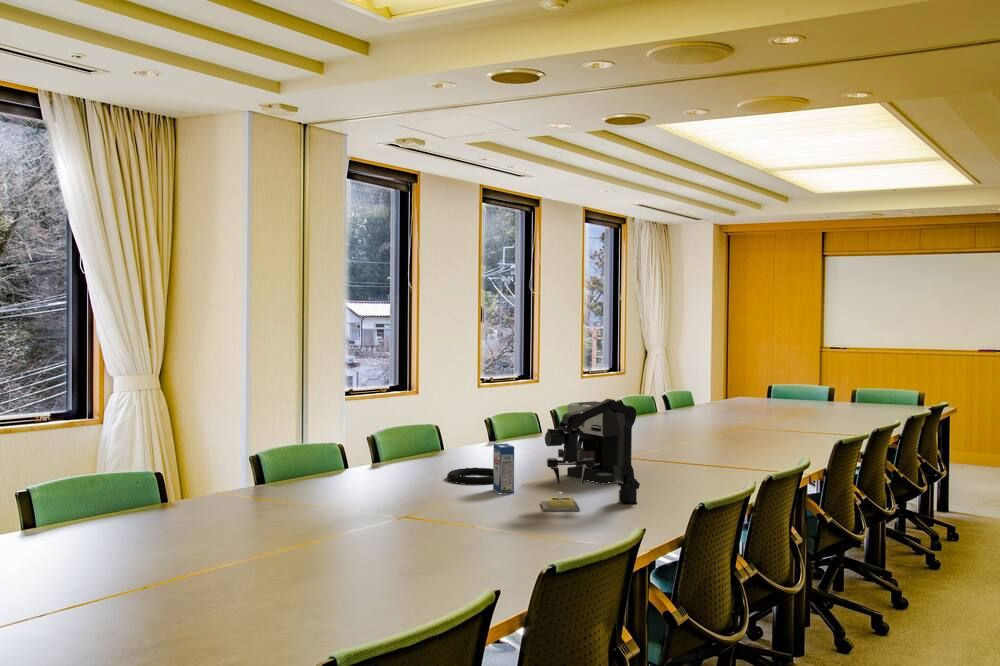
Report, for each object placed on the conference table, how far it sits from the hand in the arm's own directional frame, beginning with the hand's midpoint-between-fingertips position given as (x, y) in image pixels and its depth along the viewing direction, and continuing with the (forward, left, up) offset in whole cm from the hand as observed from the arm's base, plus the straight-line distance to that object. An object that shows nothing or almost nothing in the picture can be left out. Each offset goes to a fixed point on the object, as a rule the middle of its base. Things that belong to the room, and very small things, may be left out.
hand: (570, 484), depth 341 cm
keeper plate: (+4, 0, -9) cm, 10 cm away
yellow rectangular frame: (+4, 0, -8) cm, 9 cm away
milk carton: (+25, -31, -9) cm, 41 cm away
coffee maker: (-20, -64, -9) cm, 68 cm away
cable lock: (+35, -59, -10) cm, 69 cm away
